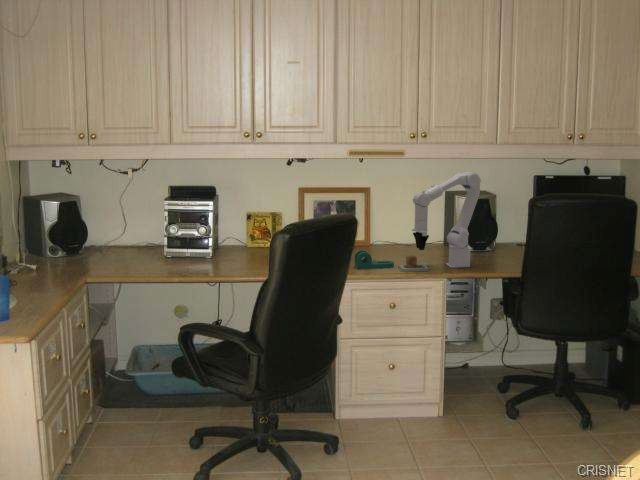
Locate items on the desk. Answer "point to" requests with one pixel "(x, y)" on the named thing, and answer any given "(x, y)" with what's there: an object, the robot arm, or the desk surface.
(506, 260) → the desk surface
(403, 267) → the slot board
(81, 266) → the desk surface
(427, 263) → the green pad
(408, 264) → the walnut block
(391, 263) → the bracket
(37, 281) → the desk surface
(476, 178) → the robot arm
